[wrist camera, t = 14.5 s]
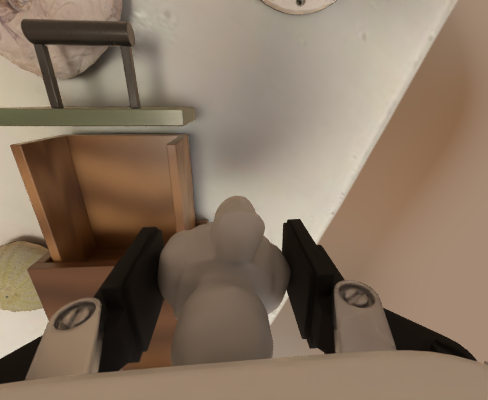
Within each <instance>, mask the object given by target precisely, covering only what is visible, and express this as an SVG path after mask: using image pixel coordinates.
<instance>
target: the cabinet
mask: <svg viewBox="0 0 488 400" xmlns="http://www.w3.org/2000/svg"><path fill="white" fill-rule="evenodd" d="M195 222H196V227H197V226H199V225H202V224H206V223H208V220H195ZM118 261H119V260H114V261H84V262H54V263H53V260H52V257H51V254H50V252H49V251H48V252H47V253H46V254H45V255H43V256H42V257H41V258H40V259H39V260H37V261H36V262H35V263H34V264H32V265H31V266H30V267H29V268H28V269H27V271H28V273H29V276H30V278H31V280H32V283H33V285H34V287H35V290H36V292H37V294H38V297H39V299H40V301H41V304H42V306H43V308H44V311H45V313H46V315H47V318H48V320H50V319H51V317H52V316H53V315H54V314H55V313H56V312H57V311H58V310H59V309H61V308H62V307H63V306H65V305H67V304H68V303H70V302H72V301H75V300H78V299H81V298H86V297H94V295H95V294H96V292H97V291H98V289H99V288H100V287H101V285H102V284H103V282H104V281H105V279H106V278H107V277H108V275H109V274H110V272H111V271H112V269H113V268H114V267H115V265H116V264H117V262H118ZM177 321H178V320H177V319H176V318H175V316H174V310H173V307H172V306H171V305H170V304H169V303H168V302H167V301H166V300H165V299H164V302H163V305H162V308H161V311H160V314H159V317H158V320H157V323H156V326H155V329H154V333H153V336H152V339H151V342H150V345H149V348H148V350H147V351H146V352H143V353H142V356H141V359H140V362H138V363H128V364H126V365H125V366H124V367H123V371H126V370H137V369H148V368H159V367H171V366H172V362H171V347H172V342H173V337H174V333H175V329H176V325H177Z"/></svg>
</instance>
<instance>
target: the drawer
mask: <svg viewBox="0 0 488 400" xmlns="http://www.w3.org/2000/svg"><path fill="white" fill-rule="evenodd" d="M21 29H22V32H23V34H24V36H25V38H26V39H27V40H28V41H29V42H30V43H32V44H33V45H34V49H35V52H36V55H37V59H38V62H39V66H40V69H41V73H42V76H43V80H44V83H45V87H46V90H47V94H48V97H49V101H50V104H51V107H18V108H0V126H184V125H186V124H188V123H190V122H192V121H194V120H195V108H194V107H140V102H139V95H138V89H137V82H136V75H135V69H134V62H133V56H132V49H131V47H133V46H134V44H135V38H134V32H133V29H132V26H131V24H130V23H129V22H127V21H91V20H52V19H23V20H22V21H21ZM46 45H69V46H120V47H121V52H122V58H123V64H124V70H125V76H126V82H127V88H128V94H129V100H130V106H131V107H64V106H63V103H62V99H61V95H60V91H59V88H58V84H57V80H56V77H55V73H54V69H53V65H52V62H51V58H50V54H49V50H48V47H47V46H46ZM10 147H11V149H12V152H13V155H14V157H15V160H16V163H17V166H18V168H19V171H20V174H21V176H22V179H23V182H24V184H25V187H26V190H27V193H28V195H29V198H30V201H31V203H32V206H33V209H34V211H35V214H36V217H37V219H38V222H39V225H40V228H41V230H42V233H43V236H44V238H45V241H46V244H47V246H48V249H49V252H50V254H51V257H52V260H53V263H54V262H84V261H114V260H119V259H120V258H121V257H123V255H124V254H125V253H126V251H127V250H128V248H129V247H130V245H131V244H132V242H133V241H134V239H135V238H136V237H137V235H138V234H139V232H140V231H141V229H142V228H143V227H157V229H158V230H159V229H160V230H161V231H162V236H163V241H164V247H165V245H166V244H167V242H168V241H169V239H170V238H171V237H172V236H173V235H174V234H176V233H178V232H180V231H183V230H191V229H193V228H195V227H196V222H195V209H194V197H193V185H192V173H191V161H190V149H189V137H188V134H136V135H59V136H54V137H49V138H44V139H39V140H33V141H28V142H23V143H18V144H13V145H10Z"/></svg>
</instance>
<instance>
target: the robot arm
mask: <svg viewBox="0 0 488 400" xmlns="http://www.w3.org/2000/svg"><path fill="white" fill-rule="evenodd" d="M262 1H263V2H264V3H266V4H267V5H269V6H271V7H272V8H274V9H276V10H279V11H282V12H285V13H288V14H299V15H301V14H308V13H313V12H316V11H319V10H321V9H324V8H326V7H327V6H329V5H331V4H332V3H334V2H335V1H337V0H262ZM296 1H299V2H300V6H298V5H297V4H296ZM163 248H164V241H163V236H162V231H161V230H160V229H159V230H158V229H157V227H143V228H142V229H141V231H140V232H139V234H138V235H137V237H136V238H135V239H134V241H133V242H132V244H131V245H130V247H129V248H128V250H127V251H126V253H125V254H124V255H123V257H121V258H120V259H119V261H118V262H117V264H116V265H115V267H114V268H113V269H112V271H111V272H110V274H109V275H108V277H107V278H106V279H105V281H104V282H103V284H102V285H101V287H100V288H99V289H98V291H97V292H96V294H95V295H94V297H86V298H81V299H78V300H75V301H72V302H70V303H68V304H67V305H65V306H63V307H62V308H61V309H59V310H58V311H57V312H56V313H55V314H54V315H53V316H52V317H51V319H50V320H49V322H48V324H47V327H46V329H45V331H44V334H43V335H42V336H41V337H39V338H37V339H35V340H33V341H32V342H30V343H28V344H26V345H24V346H23V347H21V348H19V349H17V350H15V351H14V352H12V353H10V354H8V355H6V356H5V357H3V358H1V359H0V400H488V362H486V361H485V362H484V364H483V363H480V362H477V360H476V359H475V358H474V357H473V355H472V354H471V353H469V352H468V350H466V349H465V348H464V347H462V346H461V345H460V344H458V343H456V342H455V341H453V340H451V339H449V338H447V337H445V336H443V335H441V334H439V333H437V332H434V331H432V330H430V329H428V328H426V327H423V326H421V325H419V324H417V323H415V322H413V321H411V320H408V319H406V318H404V317H402V316H400V315H397V314H395V313H393V312H391V311H389V310H387V309H385V308H383V306H382V303H381V300H380V298H379V296H378V294H377V293H376V292H375V291H374V290H373V289H372V288H371V287H369V286H368V285H366V284H363V283H361V282H357V281H354V280H344V278H343V277H342V275H341V274H340V272H339V271H338V269H337V268H336V267H335V265H334V263H333V262H332V260H331V259H330V257H329V256H328V254H327V253H326V251H325V250H324V248H323V247H322V246H321V245H316V244H315V242H314V240H313V239H312V237H311V236H310V234H309V233H308V231H307V229H306V228H305V226H304V225H303V223H302V221H301V220H300V219H291V220H287V223H284V224H283V242H282V253H283V255H284V256H285V258H286V260H287V262H288V264H289V267H290V270H291V278H290V281H289V284H288V287H287V289H286V290H287V293H288V296H289V299H290V302H291V305H292V309H293V312H294V315H295V318H296V321H297V324H298V328H299V331H300V334H301V337H302V339H307V342H308V344H309V347H310V348H319V349H320V350H322V351H323V352H324V354H322V355H308V356H296V357H282V358H269V359H256V360H244V361H231V362H219V363H207V364H195V365H183V366H171V367H159V368H148V369H137V370H126V371H123V367H124V366H125V365H126V364H128V363H138V362H140V359H141V356H142V353H143V352H146V351H147V350H148V348H149V345H150V342H151V339H152V336H153V333H154V329H155V326H156V323H157V320H158V317H159V314H160V311H161V308H162V305H163V302H164V299H165V298H164V297H163V296H162V294H161V292H160V289H159V286H158V279H157V278H158V268H159V259H160V254H161V252H162V250H163Z"/></svg>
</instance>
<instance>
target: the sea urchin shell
mask: <svg viewBox="0 0 488 400" xmlns="http://www.w3.org/2000/svg"><path fill="white" fill-rule="evenodd" d="M48 251H49V249H46V248H45V247H43V246H41V245H40V244H39V245H38V244H33V243H30V242H21V241H20V242H19V241H15V242H12V243H10V244H7V245H3V246H1V247H0V309H2V310H9V311H12V312H16V311H18V312H19V311H31V310H36V309H40V308H43V306H42V304H41V301H40V299H39V297H38V294H37V292H36V290H35V287H34V285H33V283H32V280H31V278H30V276H29V273H28V271H27V269H28V268H29V267H30V266H31V265H32V264H34V263H35V262H36V261H37V260H39V259H40V258H41V257H42V256H43V255H45V254H46V253H47V252H48Z"/></svg>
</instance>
